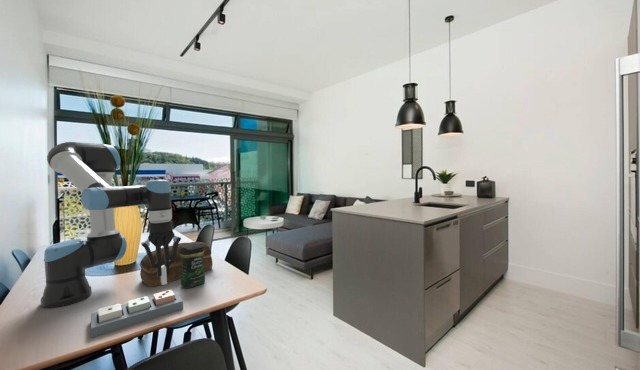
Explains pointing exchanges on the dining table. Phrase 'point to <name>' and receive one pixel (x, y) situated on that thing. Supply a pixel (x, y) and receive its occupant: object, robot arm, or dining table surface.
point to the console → (133, 316)
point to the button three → (163, 297)
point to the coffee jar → (192, 265)
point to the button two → (138, 304)
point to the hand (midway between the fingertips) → (163, 283)
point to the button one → (110, 312)
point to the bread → (175, 268)
